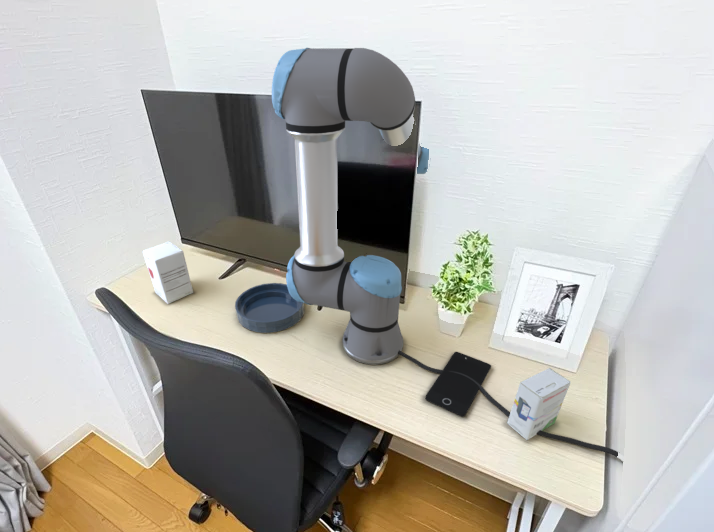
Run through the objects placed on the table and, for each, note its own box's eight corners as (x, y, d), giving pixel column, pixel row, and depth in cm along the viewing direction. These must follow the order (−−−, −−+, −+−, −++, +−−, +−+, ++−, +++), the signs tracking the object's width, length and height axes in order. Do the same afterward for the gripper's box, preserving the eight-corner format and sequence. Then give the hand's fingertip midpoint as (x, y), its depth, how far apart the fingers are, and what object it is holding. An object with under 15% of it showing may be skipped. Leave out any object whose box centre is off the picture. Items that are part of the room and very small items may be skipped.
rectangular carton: (154, 292, 129) (140, 250, 121) (180, 282, 134) (169, 240, 126) (167, 304, 124) (154, 260, 115) (194, 293, 129) (183, 250, 120)
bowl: (317, 308, 120) (317, 296, 118) (272, 343, 108) (270, 331, 105) (269, 287, 130) (268, 276, 128) (223, 317, 118) (220, 305, 115)
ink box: (526, 441, 81) (543, 400, 74) (505, 422, 85) (519, 381, 78) (555, 423, 84) (574, 382, 77) (534, 406, 88) (549, 365, 81)
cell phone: (424, 399, 90) (424, 396, 90) (454, 353, 102) (455, 350, 101) (464, 418, 86) (464, 415, 85) (491, 367, 98) (492, 364, 97)
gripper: (395, 216, 120) (366, 282, 119) (327, 199, 133) (299, 258, 132) (387, 204, 114) (356, 274, 113) (316, 187, 127) (287, 250, 126)
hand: (325, 266), depth 122 cm, fingers open, 13 cm apart
